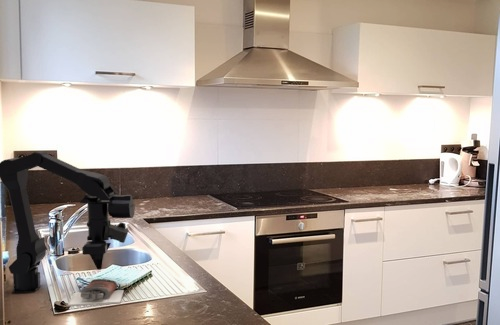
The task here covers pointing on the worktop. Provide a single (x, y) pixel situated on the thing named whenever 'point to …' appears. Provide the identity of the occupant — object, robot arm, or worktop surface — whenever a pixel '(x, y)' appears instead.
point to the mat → (112, 299)
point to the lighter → (98, 289)
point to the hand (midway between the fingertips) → (99, 269)
